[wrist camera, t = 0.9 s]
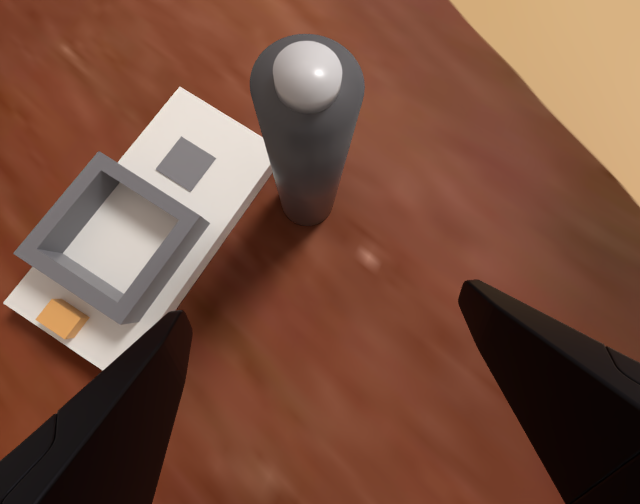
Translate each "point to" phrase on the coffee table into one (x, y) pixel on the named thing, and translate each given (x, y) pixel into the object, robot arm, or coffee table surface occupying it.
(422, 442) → the coffee table surface
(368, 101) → the coffee table surface
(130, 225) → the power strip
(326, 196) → the joystick
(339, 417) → the coffee table surface
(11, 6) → the coffee table surface
